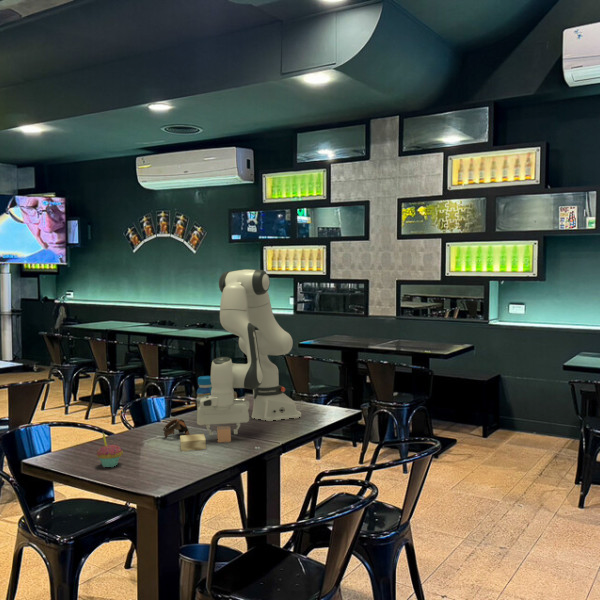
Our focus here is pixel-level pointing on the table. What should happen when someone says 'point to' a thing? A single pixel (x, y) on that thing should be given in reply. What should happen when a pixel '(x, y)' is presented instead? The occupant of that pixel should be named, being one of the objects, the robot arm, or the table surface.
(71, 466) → the table surface
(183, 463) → the table surface
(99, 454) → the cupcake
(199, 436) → the beech block
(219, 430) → the terracotta cube
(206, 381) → the vitamin bottle
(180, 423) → the brown rounded piece
